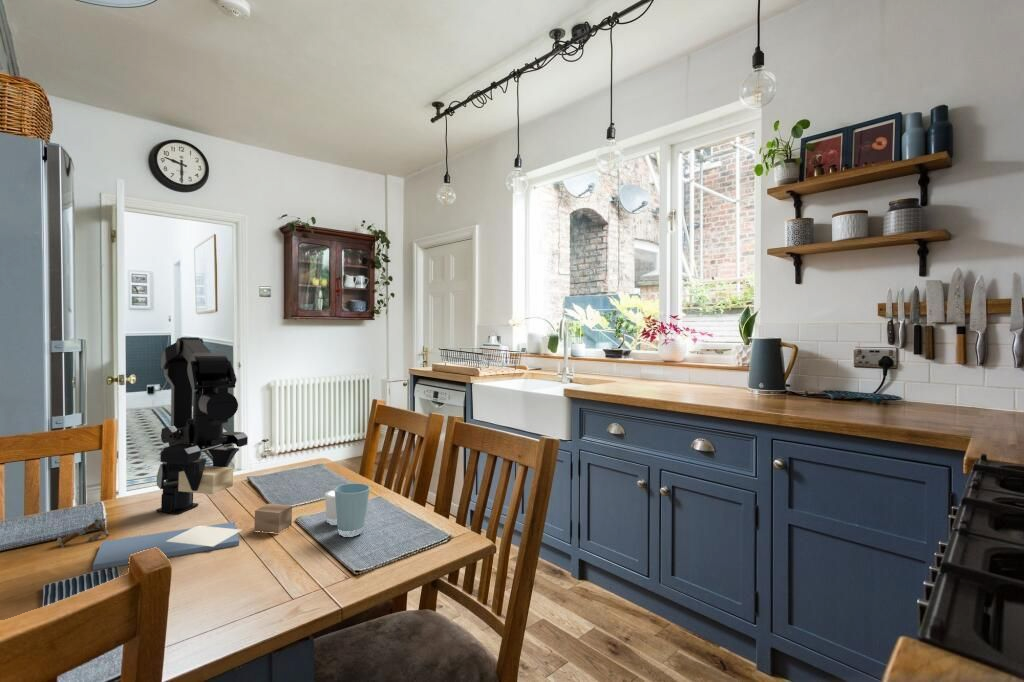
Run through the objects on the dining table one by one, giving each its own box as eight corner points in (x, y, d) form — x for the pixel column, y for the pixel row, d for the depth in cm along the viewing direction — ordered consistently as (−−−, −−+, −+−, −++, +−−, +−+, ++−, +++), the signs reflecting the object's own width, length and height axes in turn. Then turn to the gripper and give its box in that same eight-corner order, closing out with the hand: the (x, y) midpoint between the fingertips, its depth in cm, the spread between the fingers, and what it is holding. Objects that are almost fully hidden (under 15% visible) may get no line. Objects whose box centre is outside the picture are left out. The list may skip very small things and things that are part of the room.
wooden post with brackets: (114, 534, 108) (103, 516, 107) (68, 558, 103) (57, 540, 102) (113, 531, 109) (103, 514, 108) (68, 554, 104) (57, 537, 103)
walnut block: (267, 524, 119) (268, 503, 119) (291, 526, 118) (292, 505, 118) (254, 532, 114) (254, 510, 114) (278, 535, 113) (279, 512, 113)
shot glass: (359, 519, 124) (360, 491, 124) (339, 528, 117) (340, 499, 117) (338, 514, 126) (339, 486, 126) (317, 523, 120) (318, 494, 120)
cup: (350, 542, 110) (352, 495, 110) (325, 535, 113) (327, 489, 113) (375, 531, 117) (376, 486, 117) (350, 524, 120) (352, 481, 120)
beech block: (200, 483, 112) (200, 465, 112) (232, 486, 110) (233, 467, 110) (178, 491, 106) (178, 472, 106) (212, 494, 105) (213, 475, 105)
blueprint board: (91, 572, 93) (92, 566, 93) (102, 544, 104) (102, 539, 104) (245, 546, 106) (245, 540, 106) (239, 523, 118) (239, 519, 118)
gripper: (207, 405, 118) (204, 471, 119) (136, 418, 100) (134, 496, 100) (250, 408, 117) (247, 475, 117) (187, 421, 98) (184, 501, 98)
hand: (206, 486), depth 108 cm, fingers closed on beech block, 6 cm apart
